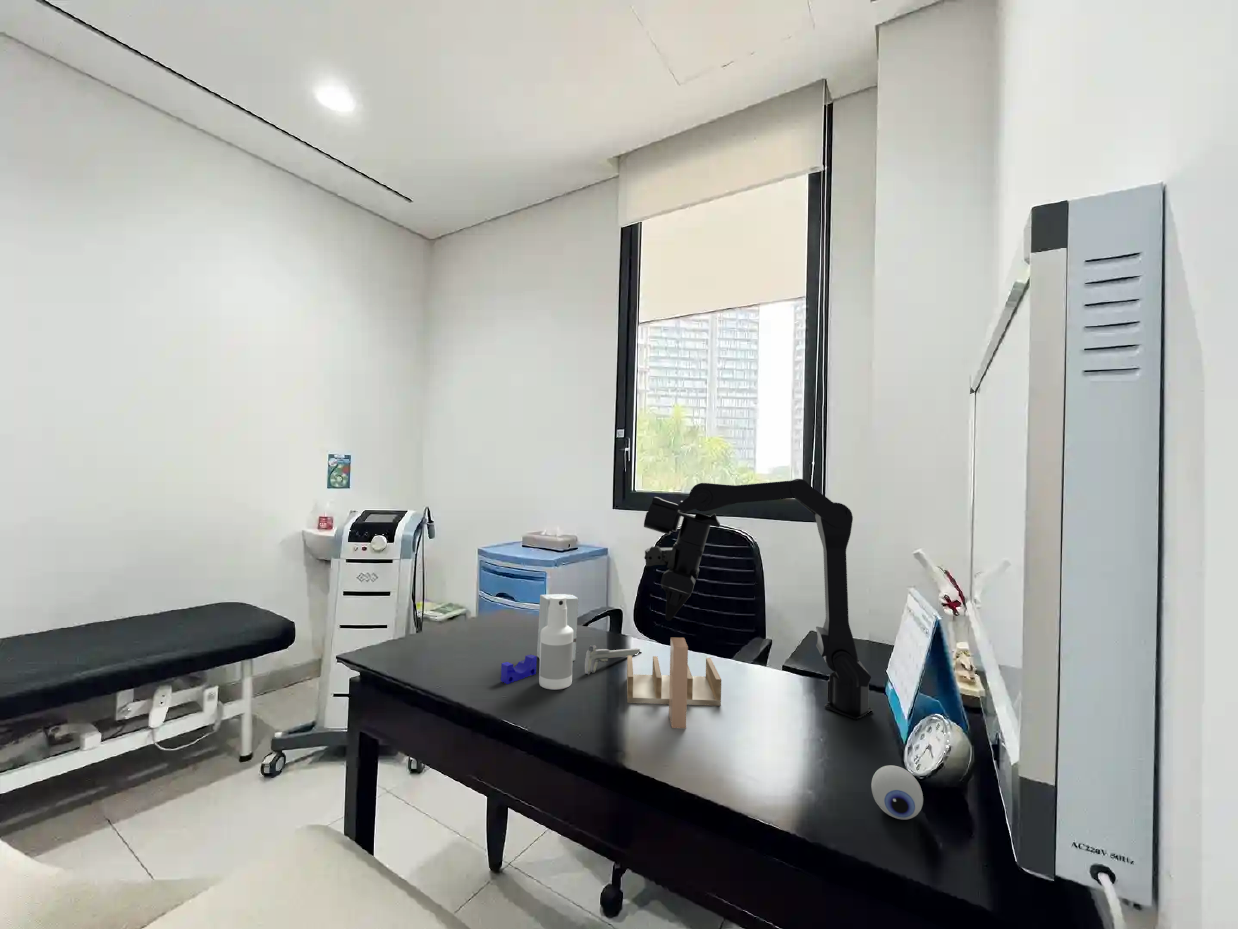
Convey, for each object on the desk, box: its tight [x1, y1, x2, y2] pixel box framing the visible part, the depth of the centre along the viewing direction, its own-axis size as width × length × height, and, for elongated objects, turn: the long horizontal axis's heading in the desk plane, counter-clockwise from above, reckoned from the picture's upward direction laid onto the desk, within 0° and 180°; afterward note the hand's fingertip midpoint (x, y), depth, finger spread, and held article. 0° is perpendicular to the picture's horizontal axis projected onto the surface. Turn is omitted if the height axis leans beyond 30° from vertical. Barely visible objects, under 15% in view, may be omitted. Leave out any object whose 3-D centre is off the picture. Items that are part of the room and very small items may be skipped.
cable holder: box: [500, 653, 538, 685], centre depth 111 cm, size 8×4×4 cm, turn 141°
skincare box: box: [536, 593, 579, 661], centre depth 123 cm, size 8×6×15 cm
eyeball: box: [870, 764, 924, 821], centre depth 68 cm, size 6×6×6 cm
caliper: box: [584, 644, 641, 675], centre depth 121 cm, size 20×1×6 cm, turn 142°
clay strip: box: [668, 637, 689, 729], centre depth 93 cm, size 2×6×14 cm, turn 0°
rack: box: [626, 655, 722, 707], centre depth 105 cm, size 18×12×5 cm, turn 90°
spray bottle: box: [538, 595, 574, 691], centre depth 108 cm, size 7×7×18 cm
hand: (670, 614), depth 107 cm, fingers open, 9 cm apart
